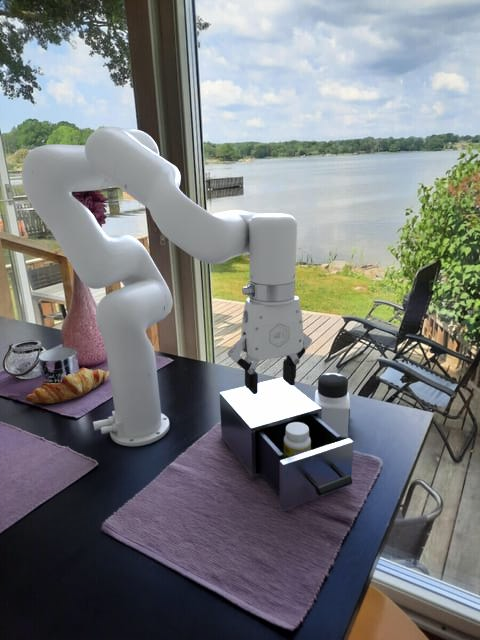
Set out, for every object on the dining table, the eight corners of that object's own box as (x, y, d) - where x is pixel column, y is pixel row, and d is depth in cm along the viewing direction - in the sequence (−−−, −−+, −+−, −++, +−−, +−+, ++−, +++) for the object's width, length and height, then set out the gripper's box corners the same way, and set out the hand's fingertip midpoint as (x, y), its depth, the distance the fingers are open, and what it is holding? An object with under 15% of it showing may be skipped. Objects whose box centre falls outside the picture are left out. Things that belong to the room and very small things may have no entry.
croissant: (106, 387, 123) (97, 360, 123) (120, 381, 115) (110, 353, 115) (26, 415, 109) (16, 384, 109) (37, 411, 101) (26, 378, 102)
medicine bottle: (348, 438, 90) (351, 386, 86) (313, 435, 92) (314, 383, 88) (347, 420, 97) (350, 370, 93) (314, 417, 98) (316, 368, 94)
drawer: (369, 502, 72) (372, 457, 69) (298, 531, 67) (299, 483, 64) (308, 444, 87) (308, 404, 85) (247, 463, 82) (245, 422, 79)
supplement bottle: (281, 461, 81) (281, 421, 78) (306, 459, 81) (307, 419, 78) (286, 478, 76) (286, 436, 74) (313, 476, 77) (314, 434, 74)
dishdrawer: (320, 456, 85) (321, 408, 82) (252, 479, 79) (251, 428, 76) (282, 420, 98) (282, 377, 94) (221, 437, 92) (219, 392, 89)
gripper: (232, 303, 66) (234, 407, 72) (329, 289, 73) (323, 385, 79) (215, 291, 73) (217, 387, 79) (304, 279, 80) (301, 369, 85)
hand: (270, 385), depth 79 cm, fingers open, 6 cm apart
